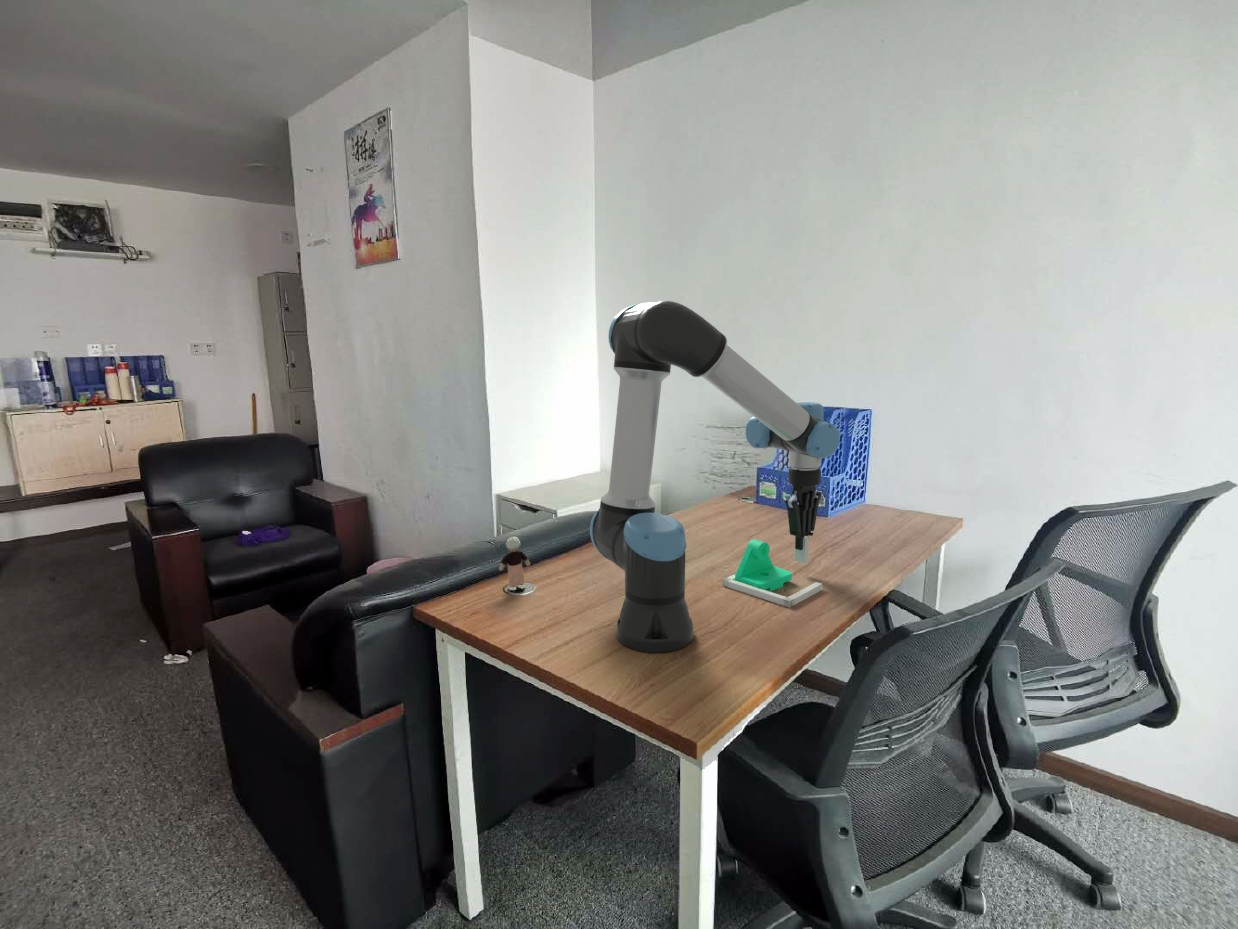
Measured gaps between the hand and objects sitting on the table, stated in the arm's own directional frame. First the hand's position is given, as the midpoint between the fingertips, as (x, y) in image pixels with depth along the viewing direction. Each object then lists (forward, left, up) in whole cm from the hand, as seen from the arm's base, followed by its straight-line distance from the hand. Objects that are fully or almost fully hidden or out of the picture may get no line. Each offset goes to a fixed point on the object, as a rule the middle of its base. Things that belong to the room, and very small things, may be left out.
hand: (801, 560), depth 155 cm
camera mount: (-12, +3, -4) cm, 13 cm away
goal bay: (-13, 0, -3) cm, 13 cm away
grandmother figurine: (-55, +43, -4) cm, 70 cm away
